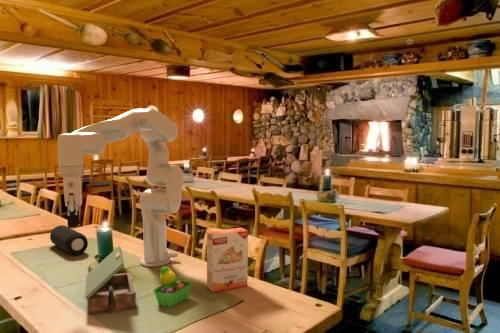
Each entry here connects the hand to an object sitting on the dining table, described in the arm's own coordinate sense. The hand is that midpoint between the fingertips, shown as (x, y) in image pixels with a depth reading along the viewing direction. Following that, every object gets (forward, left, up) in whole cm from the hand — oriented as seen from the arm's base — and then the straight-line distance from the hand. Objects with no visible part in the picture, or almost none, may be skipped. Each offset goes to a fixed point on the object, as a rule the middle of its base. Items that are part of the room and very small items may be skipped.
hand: (73, 224), depth 140 cm
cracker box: (-51, +8, -26) cm, 58 cm away
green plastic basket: (-30, +13, -26) cm, 42 cm away
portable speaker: (+6, -62, -26) cm, 67 cm away
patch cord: (-11, +6, -25) cm, 28 cm away
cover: (-9, +5, -16) cm, 19 cm away
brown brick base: (-11, +5, -26) cm, 28 cm away
